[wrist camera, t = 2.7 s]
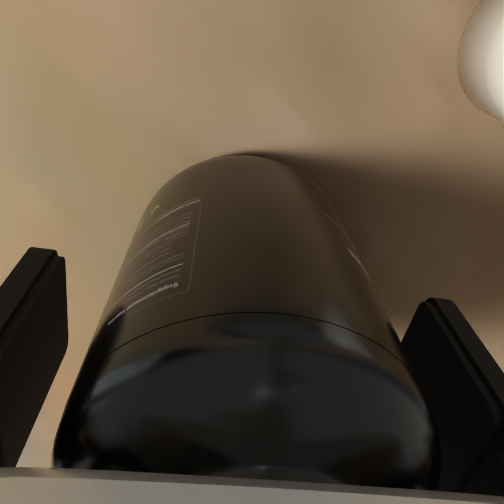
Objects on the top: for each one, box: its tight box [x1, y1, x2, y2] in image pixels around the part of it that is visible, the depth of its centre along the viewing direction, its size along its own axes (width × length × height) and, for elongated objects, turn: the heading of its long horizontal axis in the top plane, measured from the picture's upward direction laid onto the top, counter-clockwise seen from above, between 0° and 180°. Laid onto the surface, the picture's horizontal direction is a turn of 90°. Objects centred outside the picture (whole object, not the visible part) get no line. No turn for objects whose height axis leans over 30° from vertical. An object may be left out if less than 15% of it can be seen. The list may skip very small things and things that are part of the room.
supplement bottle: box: [51, 155, 442, 491], centre depth 10 cm, size 7×7×12 cm
